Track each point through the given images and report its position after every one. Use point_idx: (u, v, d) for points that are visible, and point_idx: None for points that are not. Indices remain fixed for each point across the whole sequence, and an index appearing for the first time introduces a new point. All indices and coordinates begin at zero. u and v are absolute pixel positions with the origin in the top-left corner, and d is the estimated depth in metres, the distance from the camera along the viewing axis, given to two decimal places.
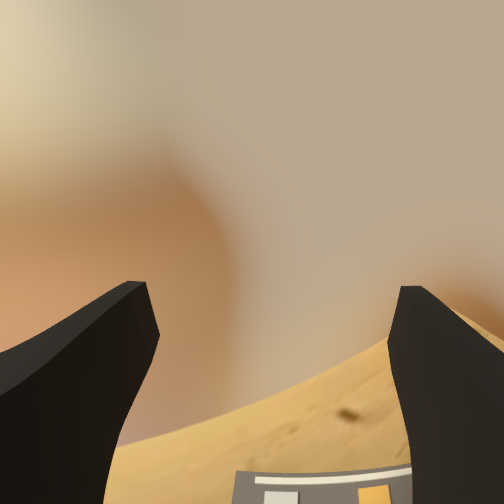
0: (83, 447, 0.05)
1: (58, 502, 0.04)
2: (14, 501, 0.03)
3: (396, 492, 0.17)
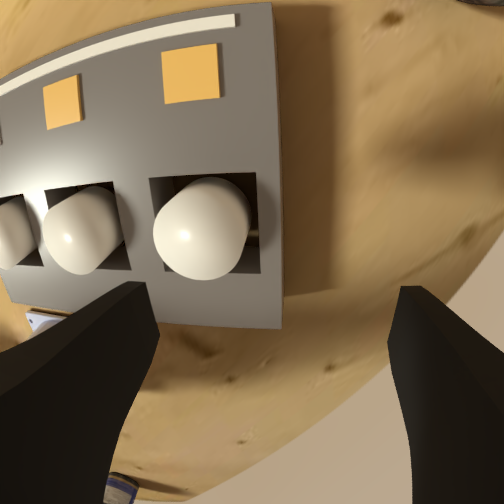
0: (83, 448, 0.05)
1: (58, 502, 0.04)
2: (14, 501, 0.03)
3: (90, 85, 0.12)
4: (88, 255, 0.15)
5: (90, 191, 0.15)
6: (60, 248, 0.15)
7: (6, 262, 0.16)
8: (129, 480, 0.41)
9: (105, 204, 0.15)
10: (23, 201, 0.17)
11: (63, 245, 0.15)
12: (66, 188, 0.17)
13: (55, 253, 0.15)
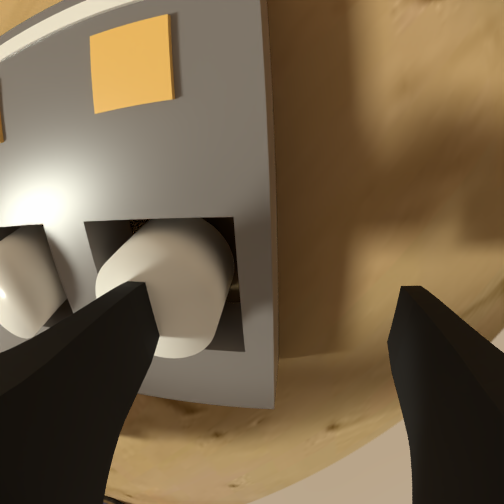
0: (83, 448, 0.05)
1: (58, 502, 0.04)
2: (14, 501, 0.03)
3: (9, 94, 0.07)
4: (24, 319, 0.10)
5: (25, 232, 0.11)
6: None
7: None
8: None
9: (41, 252, 0.10)
10: None
11: None
12: None
13: None
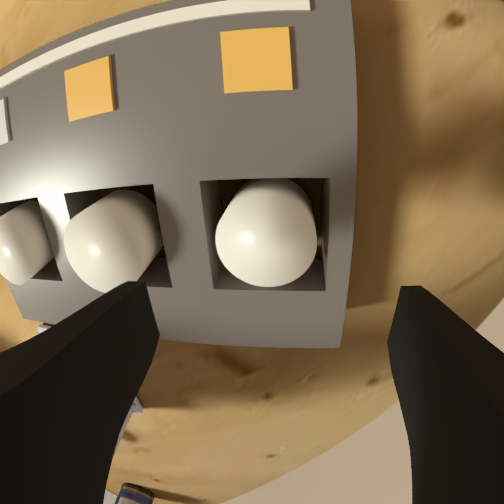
0: (82, 448, 0.05)
1: (58, 502, 0.04)
2: (14, 501, 0.03)
3: (126, 68, 0.10)
4: (123, 272, 0.13)
5: (122, 195, 0.14)
6: (87, 263, 0.13)
7: (18, 276, 0.14)
8: (144, 491, 0.39)
9: (142, 211, 0.13)
10: (36, 206, 0.15)
11: (90, 260, 0.13)
12: (89, 191, 0.15)
13: (80, 269, 0.13)
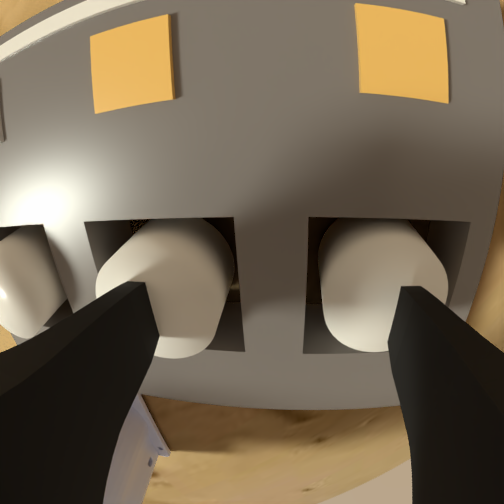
0: (82, 448, 0.05)
1: (58, 502, 0.04)
2: (14, 501, 0.03)
3: (197, 35, 0.07)
4: (188, 334, 0.09)
5: (179, 223, 0.10)
6: None
7: (22, 328, 0.10)
8: None
9: (211, 248, 0.10)
10: (41, 232, 0.11)
11: None
12: None
13: None
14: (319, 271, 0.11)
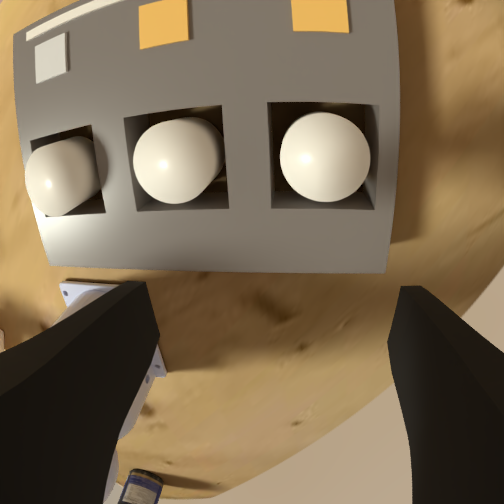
0: (83, 447, 0.05)
1: (58, 502, 0.04)
2: (14, 501, 0.03)
3: (202, 6, 0.11)
4: (193, 178, 0.14)
5: (191, 118, 0.15)
6: (156, 173, 0.14)
7: (59, 206, 0.15)
8: (154, 476, 0.40)
9: (211, 130, 0.15)
10: (84, 139, 0.15)
11: (160, 169, 0.14)
12: (142, 125, 0.16)
13: (146, 180, 0.15)
14: None
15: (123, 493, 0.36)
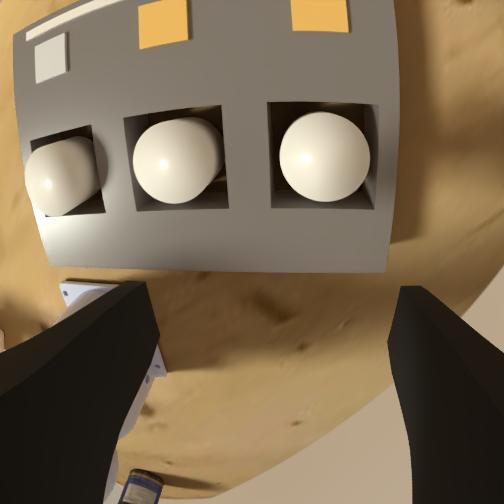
0: (83, 448, 0.05)
1: (58, 502, 0.04)
2: (14, 501, 0.03)
3: (202, 6, 0.11)
4: (193, 178, 0.14)
5: (190, 118, 0.15)
6: (155, 172, 0.14)
7: (59, 206, 0.15)
8: (154, 477, 0.40)
9: (210, 130, 0.15)
10: (83, 139, 0.16)
11: (160, 169, 0.14)
12: (142, 125, 0.16)
13: (146, 180, 0.15)
14: None
15: (123, 493, 0.36)
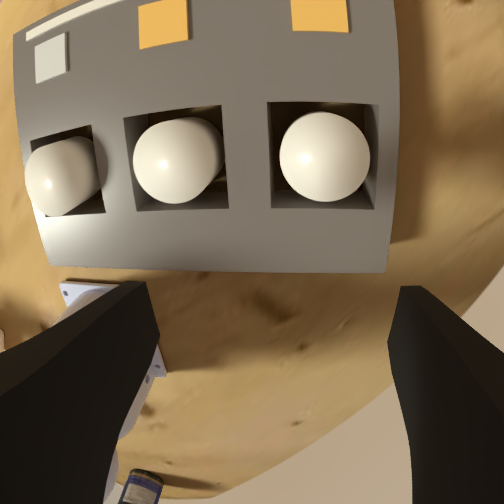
0: (83, 448, 0.05)
1: (58, 502, 0.04)
2: (14, 501, 0.03)
3: (202, 6, 0.11)
4: (193, 178, 0.14)
5: (190, 118, 0.15)
6: (155, 172, 0.14)
7: (59, 206, 0.15)
8: (154, 477, 0.40)
9: (210, 130, 0.15)
10: (83, 139, 0.16)
11: (160, 169, 0.14)
12: (142, 125, 0.16)
13: (146, 180, 0.15)
14: None
15: (123, 493, 0.36)
